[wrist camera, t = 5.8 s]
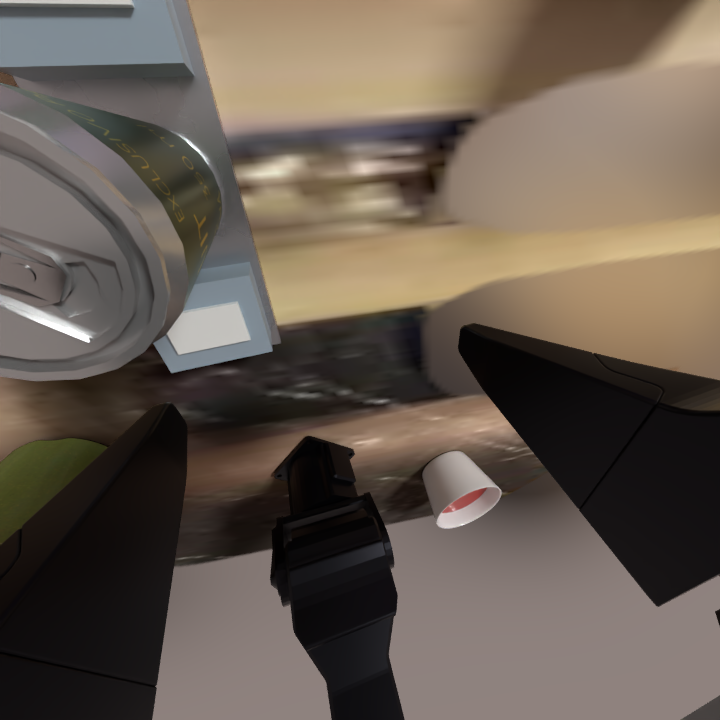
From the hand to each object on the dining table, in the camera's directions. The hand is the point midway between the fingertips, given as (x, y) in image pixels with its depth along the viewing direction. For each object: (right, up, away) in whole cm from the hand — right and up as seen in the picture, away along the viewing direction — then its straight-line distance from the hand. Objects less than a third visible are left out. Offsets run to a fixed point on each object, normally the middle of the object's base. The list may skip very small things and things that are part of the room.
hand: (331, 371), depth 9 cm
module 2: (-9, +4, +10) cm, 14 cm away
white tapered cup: (+13, -15, +32) cm, 37 cm away
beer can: (-9, +9, +6) cm, 14 cm away
